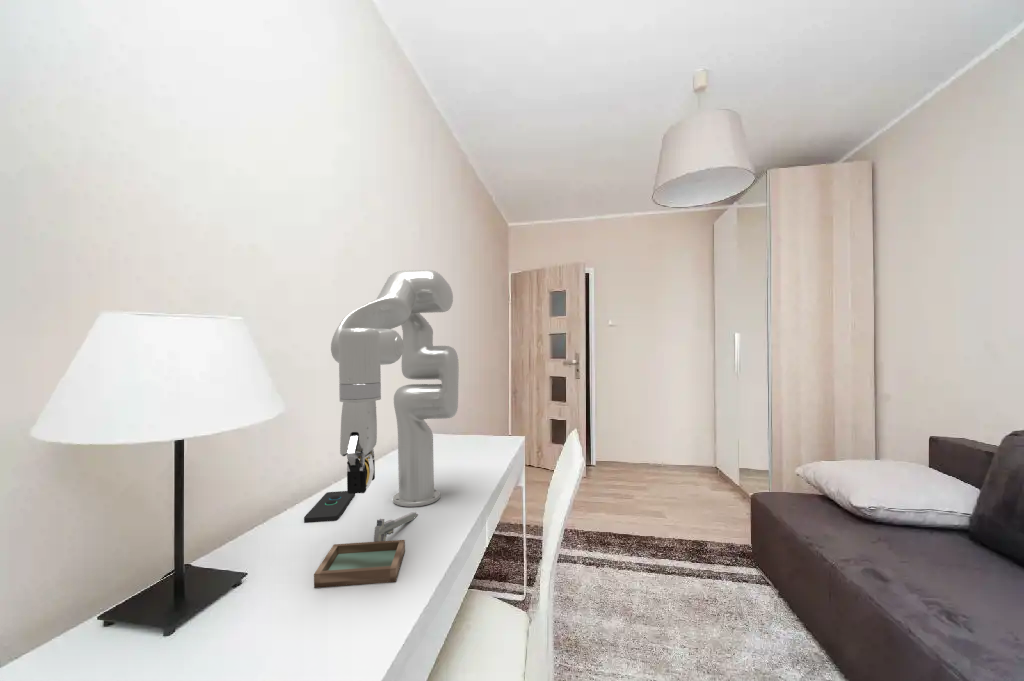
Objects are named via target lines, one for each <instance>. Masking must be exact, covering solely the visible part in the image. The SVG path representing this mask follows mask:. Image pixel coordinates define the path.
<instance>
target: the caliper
mask: <svg viewBox="0 0 1024 681" xmlns="http://www.w3.org/2000/svg"><path fill="white" fill-rule="evenodd" d="M417 515H418V516H419V514H418V513H417V512H416V511H415V512H414V511H413V512H410V513H407V514H405V515H402V516H401V517H398V518H396V519H389V520H387V521H385V518H380V519H376V525H375V526H374V533H373V542H377V541H387V535H391V534H394V533H395V532H394V531H395V529H398V527H401V526H403V525H404V524H407V523H409V522H412V521H414V520H413V518H414V517H416V518H417V517H418V516H417Z"/></svg>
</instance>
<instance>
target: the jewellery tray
mask: <svg viewBox="0 0 1024 681" xmlns="http://www.w3.org/2000/svg"><path fill="white" fill-rule="evenodd" d="M405 552H406V539H397V540H396V539H394V540H393V539H392V540H385V541H377V542H374V541H365V542H364V541H363V542H350V543H334V544H333V545H332V547H331V548H330V549H329V550H328V552H327V554H326V556H325V557H324V558H323V559H322V561H321V563H320V564H319V566H318V567H317V569H316V571H315V572H314V573H313V588H314V589H319V588H320V589H321V588H332V587H334V588H335V587H346V586H347V587H348V586H357V585H358V586H359V585H361V586H362V585H371V584H372V585H373V584H385V583H387V584H389V583H397V580H398V577H399V573H400V569H401V566H402V562H403V559H404V556H405Z"/></svg>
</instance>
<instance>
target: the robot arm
mask: <svg viewBox="0 0 1024 681" xmlns="http://www.w3.org/2000/svg"><path fill="white" fill-rule="evenodd" d="M453 302H454V295H453V291H452V288H451V285H450V284H449V282H448V281H447V280H446V279H445V277H444V276H443V275H442V274H440V273H439V272H438V271H436V270H432V269H416V270H414V269H413V270H412V269H411V270H410V269H409V270H399V271H395V272H393V273H392V274H390V275H389V276H388V277H387V280H386V282H385V283H384V285H383V287H382V289H381V290H380V292H379V294H378V296H377V297H376V299H374V300H372V301H370V302H367V303H366V304H364V305H362V306H360V307H358V308H356V309H354V310H352V311H351V312H350V313H348V314H347V315H345V316H344V318H342V320H341V322H340V323H339V324H338V326H337V328H336V330H335V332H334V333H333V336H332V338H331V343H330V351H331V356H332V358H333V359H334V361H335V362H336V363H338V378H339V380H338V382H339V386H338V387H339V393H338V394H339V395H338V396H339V402H340V403H342V407H341V417H340V438H339V443H340V444H339V454H340V456H341V457H346V458H347V462H346V463H347V467H346V485H347V486H346V487H347V490H346V491H347V492H348V493H349V494H355V495H356V494H365V493H366V492H367V490H366V480H367V468H366V465H365V455H367V454H371V455H372V458H373V464H374V473H373V478H372V481H374V480H375V478H376V476H375V475H376V474H375V473H376V469H375V468H376V467H375V465H376V463H375V450H374V448H375V447H376V445H377V442H378V441H377V440H378V439H377V438H378V419H377V402H376V401H380V400H382V386H381V385H382V384H381V383H382V382H381V378H382V376H381V375H382V374H381V371H382V370H381V365H382V366H383V365H386V366H387V365H391V364H394V363H396V362H397V361H399V360H400V359H401V372H402V373H401V374H402V375H403V377H404V378H405V379H408V380H415V381H416V380H417V381H418V380H419V381H420V380H421V381H422V380H425V381H426V380H439V381H441V383H435V384H434V383H420V384H419V383H415V384H414V383H412V384H405V385H402V386H400V387H398V388H397V389H396V390H395V391H394V392H395V393H394V395H393V407H394V412H395V418H396V426H397V450H398V451H397V452H398V453H397V457H398V458H397V459H398V460H397V461H398V462H397V463H398V469H397V471H398V492H397V493H395V494H394V495H393V497H392V503H394V504H395V505H397V506H400V507H410V508H411V507H415V508H416V507H423V506H427V505H430V504H434V503H435V502H437V501H438V500H439V499H440V497H441V493H440V491H439V490H437V489H436V488H435V481H434V479H435V478H434V477H435V475H434V474H435V473H434V472H435V470H434V469H435V467H434V463H435V462H434V435H433V431H432V429H431V427H430V426H429V425H428V423H427V422H426V421H425V420H430V419H431V420H432V419H433V420H438V419H439V420H440V419H443V420H444V419H450V418H453V417H455V415H456V414H457V413H458V408H459V376H460V374H459V372H460V371H459V368H460V367H459V358H458V357H459V356H458V352H457V351H456V349H455V348H454V347H453V346H450V345H433V344H434V343H433V342H434V337H433V336H434V330H433V327H432V325H431V324H430V323H429V322H428V320H427V319H426V318H425V317H424V316H423V315H422V314H427V313H429V314H431V313H434V314H435V313H446V312H449V311H450V309H451V308H452V306H453ZM399 326H401V330H402V336H401V334H400V333H399V332H397V331H396V330H394V329H396V328H397V327H399ZM357 451H360V453H356V452H357ZM358 458H361V460H360V459H358ZM367 459H368V457H367Z"/></svg>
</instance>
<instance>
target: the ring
mask: <svg viewBox="0 0 1024 681" xmlns="http://www.w3.org/2000/svg"><path fill="white" fill-rule="evenodd" d="M356 453H360V451H357V452H356ZM367 457H368V459H367ZM358 459H360V460H361V458H358ZM373 460H374V459H373V458H372V455H371V454H367V455H365V465H366V468H367V480H366V491H367V490H368V489H369V487H370V485H371V484H372V481H373V480H372V478H373V473H374V464H373Z"/></svg>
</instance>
